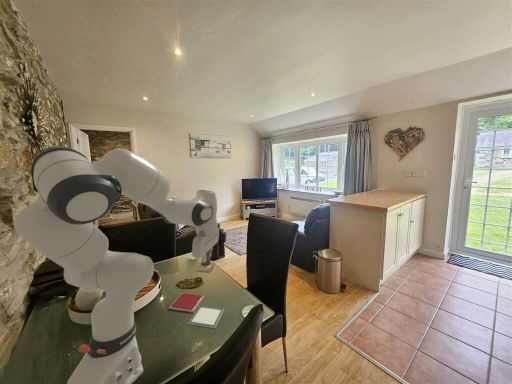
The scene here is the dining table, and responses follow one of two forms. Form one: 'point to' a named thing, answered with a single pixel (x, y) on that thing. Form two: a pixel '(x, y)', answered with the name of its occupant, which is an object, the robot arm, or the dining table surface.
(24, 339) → the dining table surface
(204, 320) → the sheet
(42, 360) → the dining table surface
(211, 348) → the dining table surface
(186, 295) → the ink pad
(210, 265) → the stamp
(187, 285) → the seal
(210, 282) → the dining table surface
